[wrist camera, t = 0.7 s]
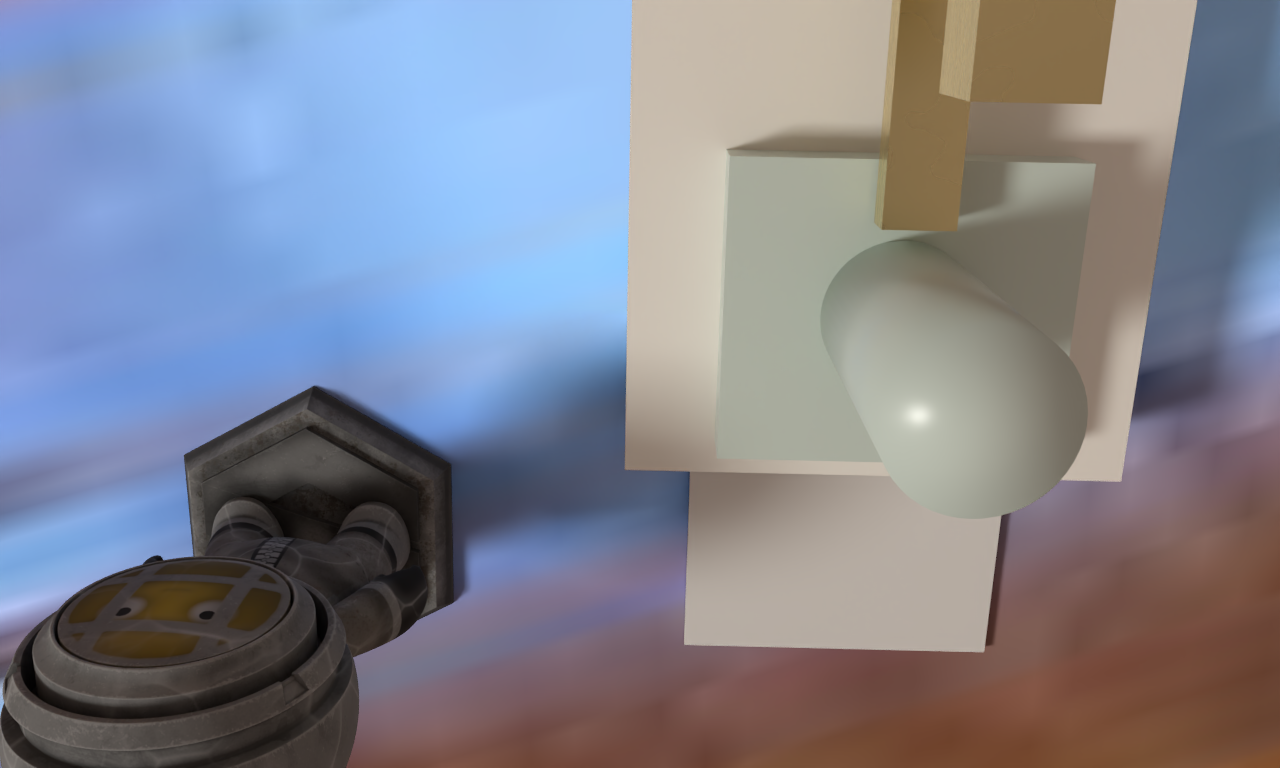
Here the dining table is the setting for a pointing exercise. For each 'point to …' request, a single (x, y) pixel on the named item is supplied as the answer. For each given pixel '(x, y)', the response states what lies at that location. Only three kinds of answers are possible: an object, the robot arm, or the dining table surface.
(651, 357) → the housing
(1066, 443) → the cover
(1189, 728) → the dining table surface
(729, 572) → the pad
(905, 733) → the dining table surface
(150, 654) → the figurine
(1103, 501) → the dining table surface
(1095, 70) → the key
